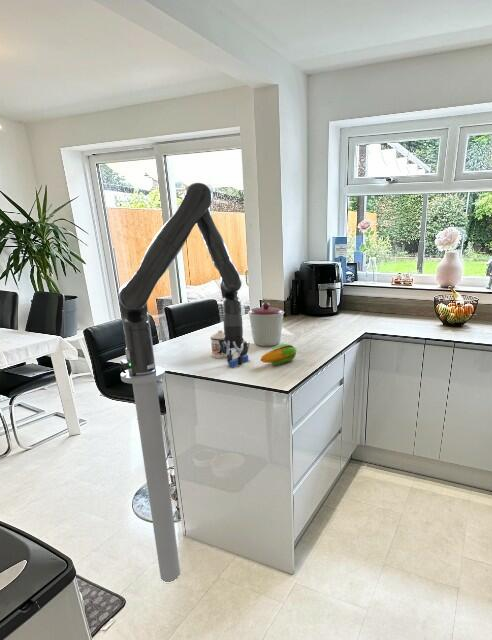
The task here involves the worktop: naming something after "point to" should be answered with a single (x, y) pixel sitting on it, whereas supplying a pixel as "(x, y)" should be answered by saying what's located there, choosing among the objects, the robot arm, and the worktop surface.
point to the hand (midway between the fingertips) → (235, 363)
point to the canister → (266, 325)
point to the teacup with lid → (217, 345)
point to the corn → (279, 355)
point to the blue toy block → (235, 361)
